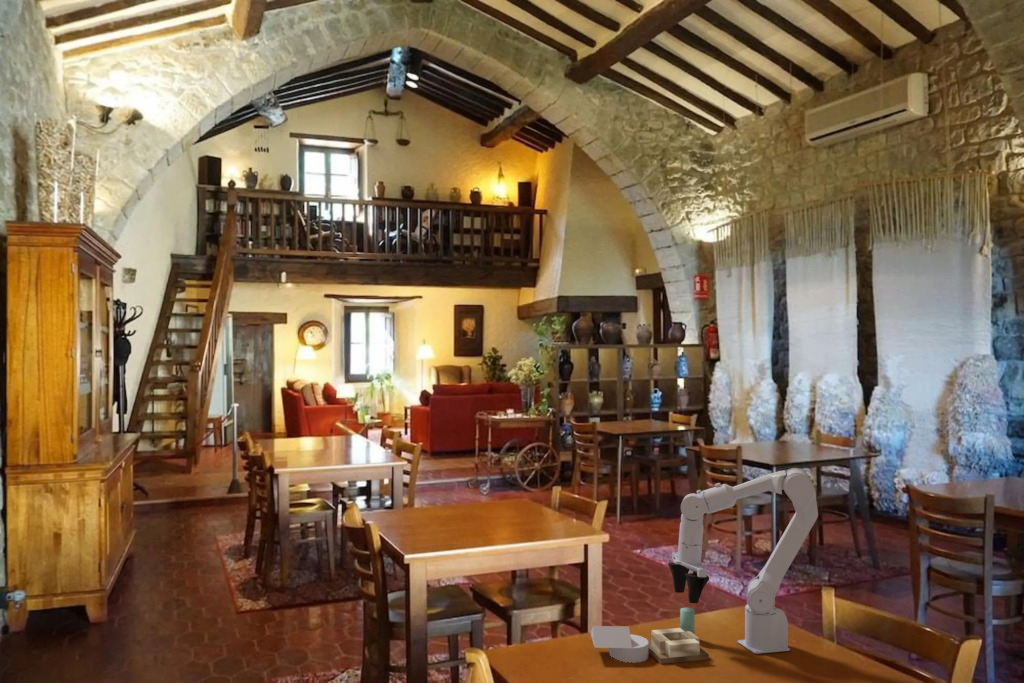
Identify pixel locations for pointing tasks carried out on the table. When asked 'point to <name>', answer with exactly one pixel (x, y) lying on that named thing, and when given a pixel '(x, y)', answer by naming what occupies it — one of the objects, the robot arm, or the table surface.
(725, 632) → the table surface
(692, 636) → the socket board
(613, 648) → the wedge on round base
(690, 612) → the peg
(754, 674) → the table surface
